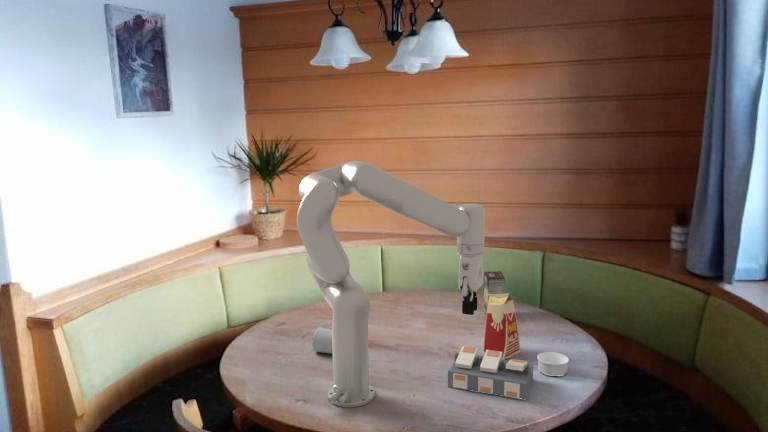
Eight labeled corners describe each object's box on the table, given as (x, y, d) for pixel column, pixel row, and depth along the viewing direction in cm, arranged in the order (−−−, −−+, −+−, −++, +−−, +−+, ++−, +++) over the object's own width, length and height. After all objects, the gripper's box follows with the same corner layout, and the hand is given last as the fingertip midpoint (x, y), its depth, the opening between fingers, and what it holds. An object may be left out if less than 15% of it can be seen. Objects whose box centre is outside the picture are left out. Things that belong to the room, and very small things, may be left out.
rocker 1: (471, 369, 158) (470, 364, 158) (455, 366, 160) (454, 362, 159) (477, 351, 165) (477, 347, 164) (462, 349, 167) (462, 345, 166)
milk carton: (520, 351, 181) (522, 290, 178) (504, 361, 175) (506, 298, 171) (495, 344, 188) (496, 285, 184) (479, 353, 181) (480, 292, 177)
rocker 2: (522, 371, 152) (523, 365, 152) (505, 368, 154) (505, 363, 154) (527, 366, 159) (527, 361, 160) (510, 363, 161) (511, 358, 161)
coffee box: (483, 312, 218) (483, 271, 215) (499, 311, 218) (500, 270, 215) (487, 320, 209) (487, 278, 206) (504, 320, 209) (505, 277, 206)
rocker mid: (496, 373, 155) (496, 369, 155) (480, 370, 157) (479, 366, 157) (502, 355, 162) (502, 351, 162) (486, 353, 164) (486, 348, 163)
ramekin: (533, 365, 172) (534, 351, 171) (563, 365, 172) (564, 351, 171) (540, 378, 163) (541, 364, 162) (572, 378, 163) (573, 364, 162)
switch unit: (524, 401, 150) (525, 375, 149) (447, 387, 158) (447, 363, 157) (532, 379, 162) (533, 355, 161) (460, 367, 170) (460, 345, 169)
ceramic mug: (336, 358, 178) (335, 334, 177) (312, 355, 181) (311, 331, 180) (348, 346, 188) (348, 323, 187) (326, 343, 191) (325, 321, 190)
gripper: (476, 256, 150) (475, 323, 154) (490, 243, 165) (489, 304, 168) (448, 254, 153) (448, 319, 156) (465, 241, 168) (464, 301, 171)
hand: (469, 311), depth 162 cm, fingers open, 3 cm apart
